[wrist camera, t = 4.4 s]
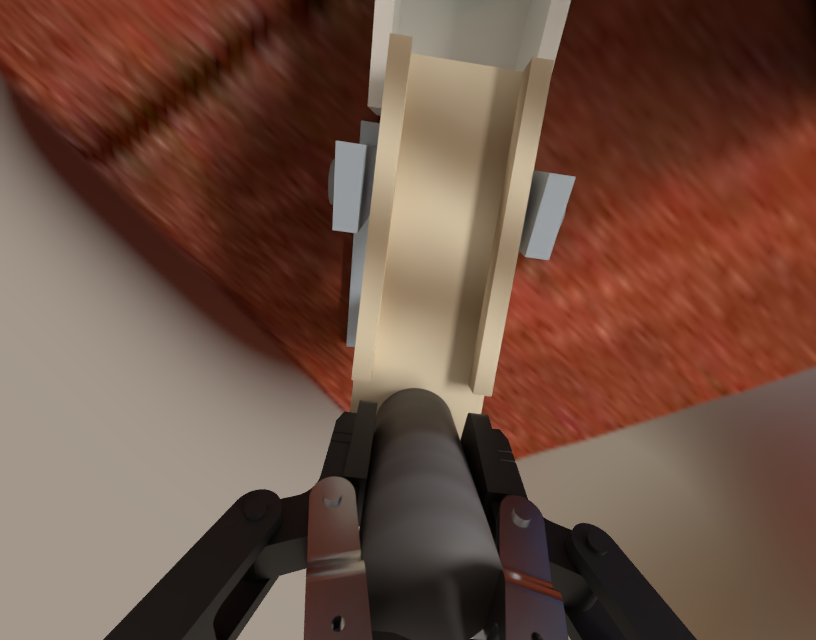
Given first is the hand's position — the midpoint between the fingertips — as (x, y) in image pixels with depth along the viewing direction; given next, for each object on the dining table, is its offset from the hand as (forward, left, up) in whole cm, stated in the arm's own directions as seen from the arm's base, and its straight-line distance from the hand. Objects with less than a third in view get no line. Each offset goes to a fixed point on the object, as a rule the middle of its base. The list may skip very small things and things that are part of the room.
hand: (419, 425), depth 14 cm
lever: (-4, 0, -5) cm, 6 cm away
